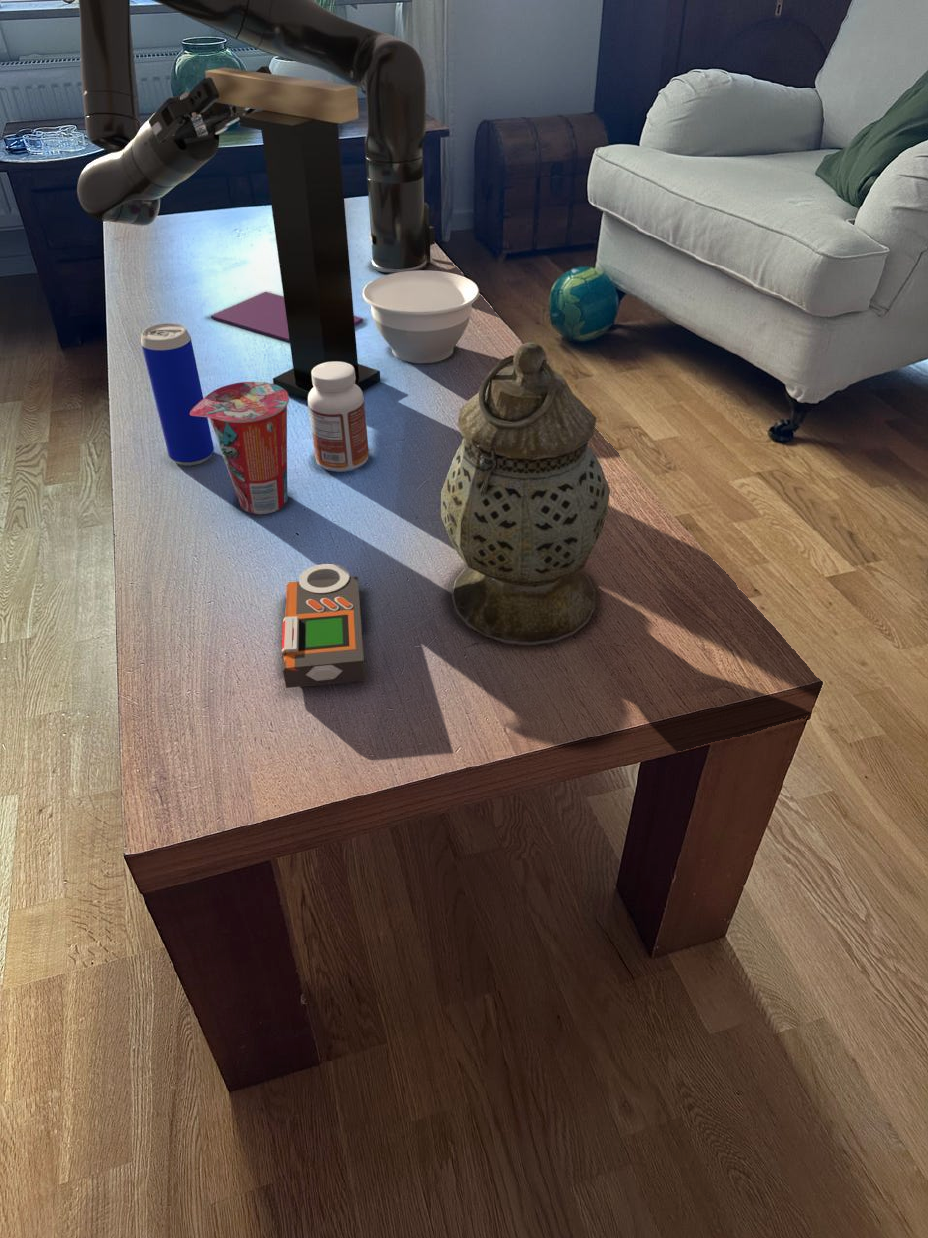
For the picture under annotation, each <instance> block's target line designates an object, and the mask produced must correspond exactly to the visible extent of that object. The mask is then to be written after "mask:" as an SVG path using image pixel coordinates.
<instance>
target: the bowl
mask: <svg viewBox="0 0 928 1238" xmlns="http://www.w3.org/2000/svg"><path fill="white" fill-rule="evenodd" d="M479 296H480V289H479V287H478V285H477V284H476V282H474V281H473V280H472V279H469V278H467V277H466V276H463V275H460V274H456V273H453V272H448V271H440V270H428V269H427V270H423V269H421V270H416V271H405V272H398V273H393V274H391V273H388V274H385V275H381V276H379V277H377V278H375V279H373V280H371V281H370V282H368V283H367V284H366V285H365V286H364V288H363V290H362V297H363V300H364V301H365V302H366V303H367V304H368V305H370V308H371V315H372V318H373V321H374V323H375V327H376V329H377V330H378V332H379V334H380V335H381V338H383V340H384V341H385V343H387V345H388V346H389V347H390V348H391V351H392V354H393V356H394V357H395V358H397V359H398V360H401V361H404V362H407V363H411V364H432V363H437V362H441V361H444V360H445V359H447V358H449V357H451V356H452V355H453V353H454V348H455V346H456V345H457V344H458V342H459V341H460V340H461V339H462V337H463V335H464V333H465V331H466V329H467V327H468V325H469V322H470V317H471V315H472V305H473V303H474V302H475V301H476V300H478V298H479Z"/></svg>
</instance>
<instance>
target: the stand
mask: <svg viewBox="0 0 928 1238" xmlns="http://www.w3.org/2000/svg"><path fill="white" fill-rule="evenodd" d="M239 119H240V124H239V125H240V127H242V128H248V129H253V130H258V131H260V132H261V139H262V146H263V147H262V148H263V152H264V160H265V167H266V169H265V170H266V175H267V184H268V191H269V199H270V205H271V213H272V220H273V228H274V235H275V236H274V237H275V243H276V250H277V257H278V265H279V272H280V280H281V287H282V294H283V295H282V296H283V297H284V303H285V311H286V318H287V325H288V333H289V340H290V342H289V347H290V354H291V361H292V368H291V369H288V370H287V371H284V372H283V373H281V374H279V375H277V376H275V377H273V378H272V384H275V385H278V386H280V387H282V388H283V389H284V390H286V392H287V393H288V395H290V396H293V397H295V398H298V399H301V400H304V401H306V402H308V395H309V392H310V391H311V389H312V388H313V387H314V386H313V382H312V374H311V372H312V369H313V368H314V367H316V366H317V365H319V364H322V363H326V362H345V363H348V364H350V365H352V366H353V367H354V370H355V377H356V380H355V384H356V385H357V386H359V387H360V389H361V390H362V392H364V391H366V390H368V389H370V388H371V387H373V386H375V385H377V384H378V383H380V382H381V371H380V370H379V369H375V368H372V367H369V366H367V365H364V364H360V363H359V361H358V359H359V358H358V348H357V337H356V327H355V326H356V325H355V323H354V316H355V313H354V311H355V310H354V299H353V287H352V280H351V279H352V277H351V265H350V263H351V262H350V253H349V240H348V230H347V229H348V228H347V227H348V226H347V216H346V205H345V194H344V182H343V180H344V179H343V171H342V170H343V169H342V158H341V157H342V156H341V147H340V145H341V143H340V136H339V135H340V131H339V125H340V124H342V123H334V122H328V121H322V120H316V119H311V118H305V117H299V116H293V115H287V114H281V113H276V112H270V111H264V110H259V111H258V112H254V113H250V114H246V115H241V116H239Z"/></svg>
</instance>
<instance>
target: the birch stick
mask: <svg viewBox="0 0 928 1238" xmlns="http://www.w3.org/2000/svg"><path fill="white" fill-rule="evenodd" d="M204 73H205V78H208V77H210V78H212V80H213V82H214V84H215V86H216V88H217V90H218V92H219V99H218V100H217V101H215V102H217V103H223V104H228V105H229V106H230V105H235V106H240V107H246V108H252V109H258V110H259V111H263V110H264V111H270V112H276V113H281V114H287V115H293V116H299V117H305V118H311V119H316V120H322V121H328V122H334V123H341V124H344V123H348V122H352V121H355V120H358V119H359V118H360V113H359V100H358V99H359V98H358V89H357V87H356V86H352V85H351V84H343V83H336V82H328V81H322V80H314V79H308V78H301V77H293V76H289V75H281V74H275V73H274V74H273V73H272V74H267V73H260V72H256V71H254V70H253V71H252V70H246V69H239V68H232V67H220V68H215V69H208V70H205V71H204Z"/></svg>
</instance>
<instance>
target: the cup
mask: <svg viewBox="0 0 928 1238" xmlns="http://www.w3.org/2000/svg"><path fill="white" fill-rule="evenodd" d="M289 402H290V397H289V394H288V393H287V392H286V390H284V389H283V388H282V387H280V386H278V385H275V384H273V383H272V382H266V381H241V382H236V383H235V382H234V383H230V384H226V385H224V386H221V387H218V388H216V389H214V390H213V391H211V392H210V393H209V394H207V395H205V396H204V397H203V399H202V400H201V401H200V402H199V403H198V404H197V405H196V406H195V407H193V408H192V410H191V411H190V415H191V416H199V417H207V418H208V419H209V421H210V424H211V427H212V429H213V432H214V435H215V438H216V441H217V443H218V446H219V448H220V452H221V455H222V457H223V461H224V463H225V465H226V468H227V471H228V474H229V477H230V480H231V483H232V486H233V489H234V492H235V494H236V498H237V499H238V503H239V505H240V507H241V509H242V510H243V511H244V512H247V513H248V514H254V515H268V514H272V513H274V512H275V513H276V512H277V511H279V510H281V509H283V508H284V507H285V506H286V504H287V502H288V405H289Z"/></svg>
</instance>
